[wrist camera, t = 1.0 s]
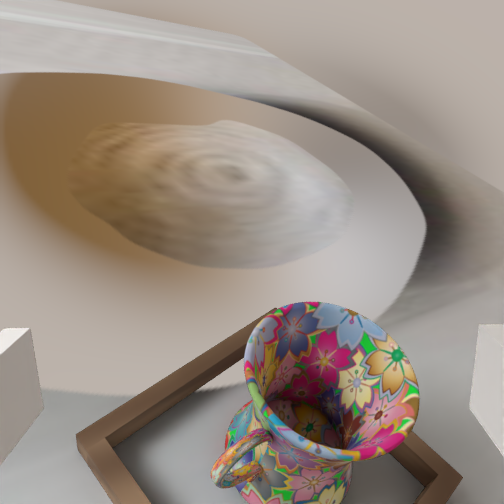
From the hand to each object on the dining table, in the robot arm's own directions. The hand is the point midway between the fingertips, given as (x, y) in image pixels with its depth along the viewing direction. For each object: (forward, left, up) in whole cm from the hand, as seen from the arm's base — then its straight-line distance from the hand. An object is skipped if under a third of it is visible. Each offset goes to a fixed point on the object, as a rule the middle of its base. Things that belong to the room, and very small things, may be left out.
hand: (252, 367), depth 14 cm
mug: (0, +7, -19) cm, 20 cm away
